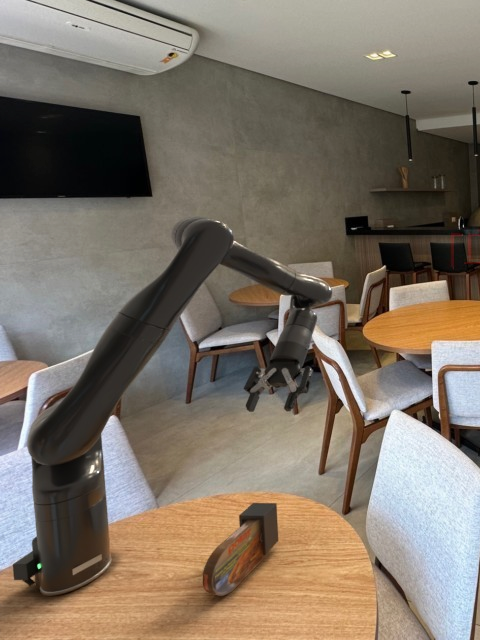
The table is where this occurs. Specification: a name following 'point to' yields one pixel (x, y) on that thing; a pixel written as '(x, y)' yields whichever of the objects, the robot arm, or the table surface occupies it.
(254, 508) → the dark grey stool
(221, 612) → the table surface
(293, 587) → the table surface
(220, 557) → the tin
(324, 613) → the table surface
